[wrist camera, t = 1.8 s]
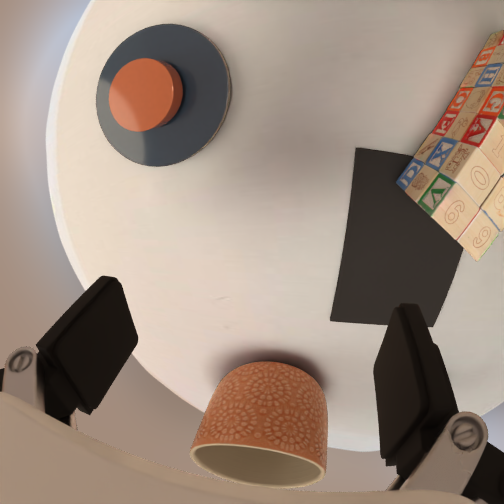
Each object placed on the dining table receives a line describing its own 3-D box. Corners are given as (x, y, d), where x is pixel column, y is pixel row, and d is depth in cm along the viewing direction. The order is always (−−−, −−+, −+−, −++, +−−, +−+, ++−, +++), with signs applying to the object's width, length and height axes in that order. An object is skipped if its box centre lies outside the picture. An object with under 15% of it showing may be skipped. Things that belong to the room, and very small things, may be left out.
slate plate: (101, 43, 23) (95, 42, 22) (232, 16, 21) (228, 13, 20) (107, 166, 30) (101, 169, 29) (232, 164, 28) (229, 167, 27)
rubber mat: (355, 147, 25) (356, 148, 24) (480, 171, 22) (482, 172, 22) (330, 319, 34) (330, 321, 34) (432, 325, 32) (433, 327, 32)
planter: (212, 338, 40) (173, 430, 27) (338, 348, 36) (336, 452, 23) (226, 403, 48) (203, 477, 34) (323, 413, 44) (316, 492, 31)
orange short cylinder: (124, 67, 23) (107, 66, 21) (186, 55, 22) (173, 52, 20) (126, 131, 27) (110, 135, 24) (187, 125, 25) (174, 129, 23)
